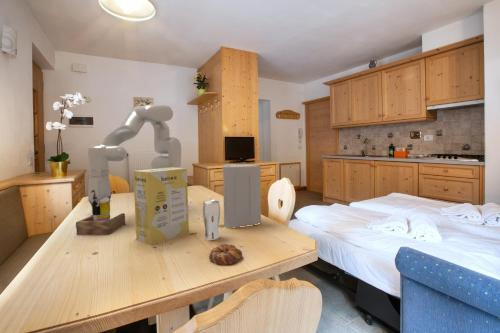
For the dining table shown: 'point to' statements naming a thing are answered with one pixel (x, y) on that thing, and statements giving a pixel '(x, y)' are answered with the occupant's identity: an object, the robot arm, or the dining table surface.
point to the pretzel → (225, 254)
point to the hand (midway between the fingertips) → (101, 212)
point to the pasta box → (160, 204)
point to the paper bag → (241, 195)
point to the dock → (99, 225)
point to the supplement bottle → (103, 210)
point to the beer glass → (211, 219)
